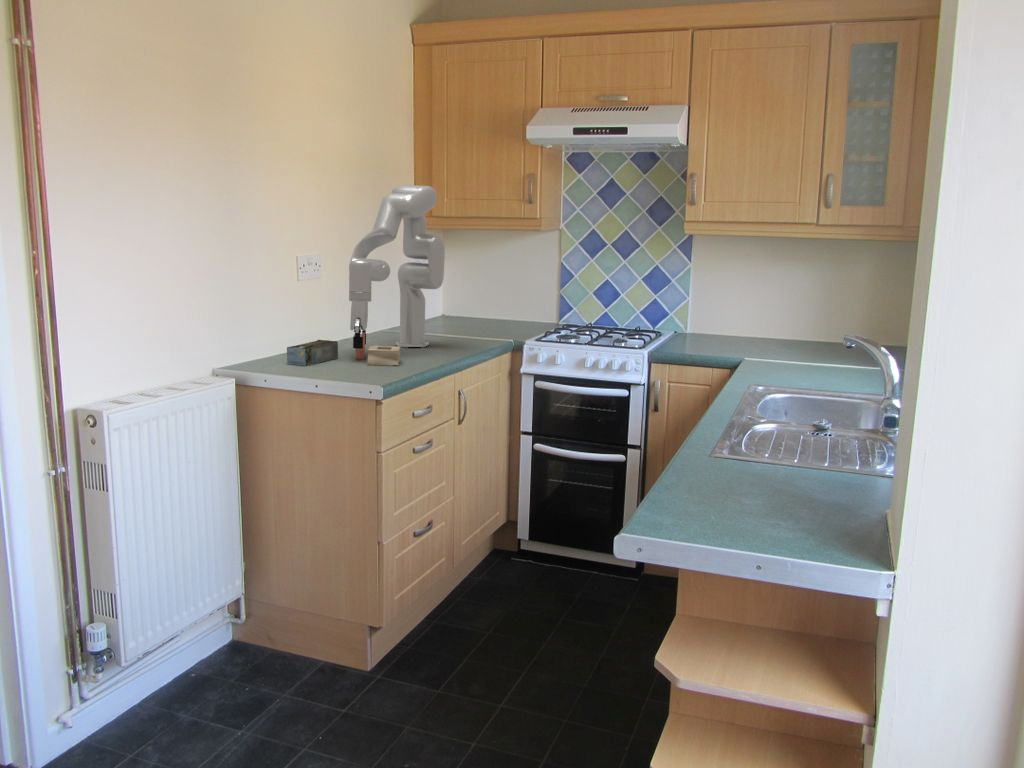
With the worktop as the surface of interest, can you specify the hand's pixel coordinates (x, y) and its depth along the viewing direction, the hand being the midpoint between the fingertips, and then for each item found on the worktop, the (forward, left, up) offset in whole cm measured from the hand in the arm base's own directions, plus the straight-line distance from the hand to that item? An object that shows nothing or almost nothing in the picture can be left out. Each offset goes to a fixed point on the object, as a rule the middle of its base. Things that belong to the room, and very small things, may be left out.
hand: (359, 346), depth 296 cm
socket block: (+8, +9, -4) cm, 13 cm away
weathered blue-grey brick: (+8, -15, -5) cm, 17 cm away
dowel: (0, 0, -4) cm, 4 cm away
